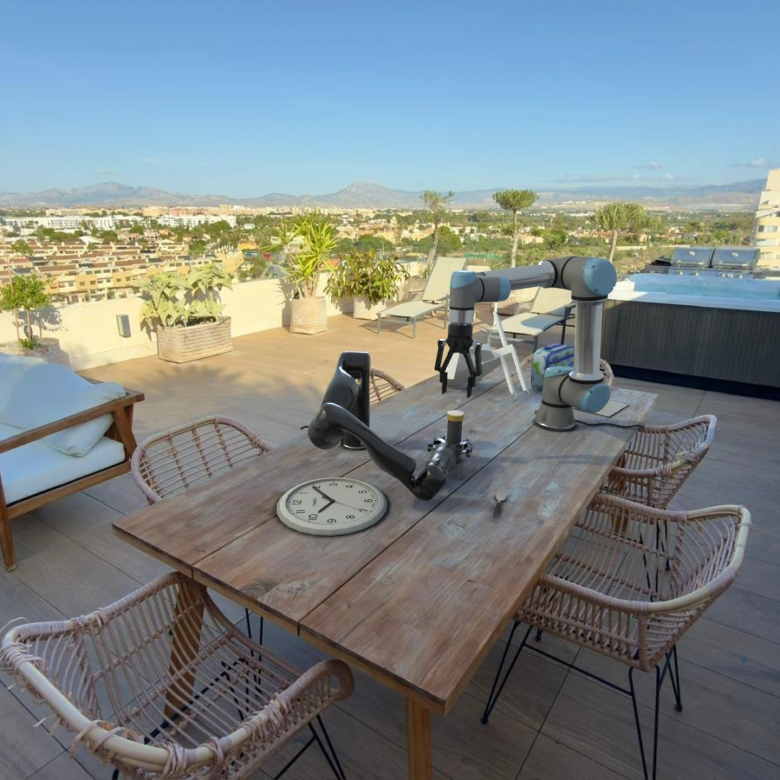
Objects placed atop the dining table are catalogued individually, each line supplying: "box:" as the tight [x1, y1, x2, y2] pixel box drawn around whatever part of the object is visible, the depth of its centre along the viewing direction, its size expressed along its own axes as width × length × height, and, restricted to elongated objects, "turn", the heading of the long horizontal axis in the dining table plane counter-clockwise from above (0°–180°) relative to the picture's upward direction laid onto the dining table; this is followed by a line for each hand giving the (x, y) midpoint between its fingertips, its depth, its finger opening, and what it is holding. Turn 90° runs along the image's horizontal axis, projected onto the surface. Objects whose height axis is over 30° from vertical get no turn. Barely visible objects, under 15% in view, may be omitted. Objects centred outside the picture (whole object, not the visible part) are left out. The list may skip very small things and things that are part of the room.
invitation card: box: [573, 399, 629, 418], centre depth 226 cm, size 21×1×15 cm
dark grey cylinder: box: [446, 419, 463, 464], centre depth 170 cm, size 5×5×16 cm
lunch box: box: [530, 343, 574, 391], centre depth 249 cm, size 26×11×21 cm, turn 134°
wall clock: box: [276, 476, 388, 537], centre depth 142 cm, size 30×2×30 cm
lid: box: [446, 409, 465, 422], centre depth 167 cm, size 5×5×2 cm
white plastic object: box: [445, 310, 531, 400], centre depth 245 cm, size 37×45×31 cm
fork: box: [492, 486, 508, 519], centre depth 143 cm, size 3×16×2 cm, turn 160°
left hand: (455, 438), depth 172 cm, fingers open, 7 cm apart
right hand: (456, 394), depth 165 cm, fingers open, 7 cm apart
